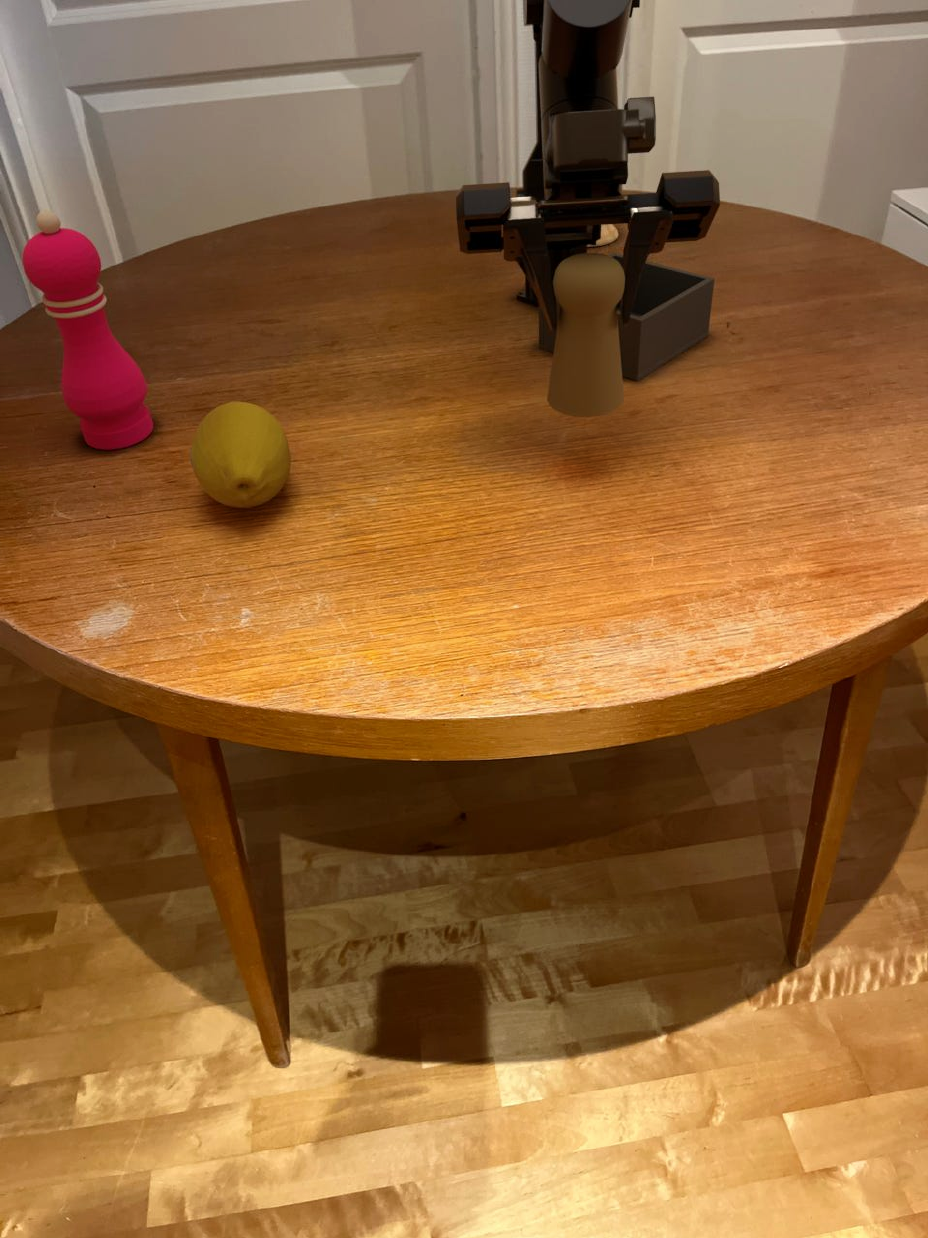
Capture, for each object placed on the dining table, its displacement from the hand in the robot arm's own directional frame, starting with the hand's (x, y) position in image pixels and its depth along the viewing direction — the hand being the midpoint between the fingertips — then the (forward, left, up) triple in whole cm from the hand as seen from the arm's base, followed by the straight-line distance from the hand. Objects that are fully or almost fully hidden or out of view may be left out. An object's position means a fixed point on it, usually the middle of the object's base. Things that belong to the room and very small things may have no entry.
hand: (589, 326), depth 69 cm
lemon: (-20, -20, -13) cm, 31 cm away
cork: (-1, +1, -7) cm, 7 cm away
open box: (-13, +22, -13) cm, 29 cm away
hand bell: (-35, +44, -13) cm, 58 cm away
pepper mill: (-39, -21, -13) cm, 46 cm away
